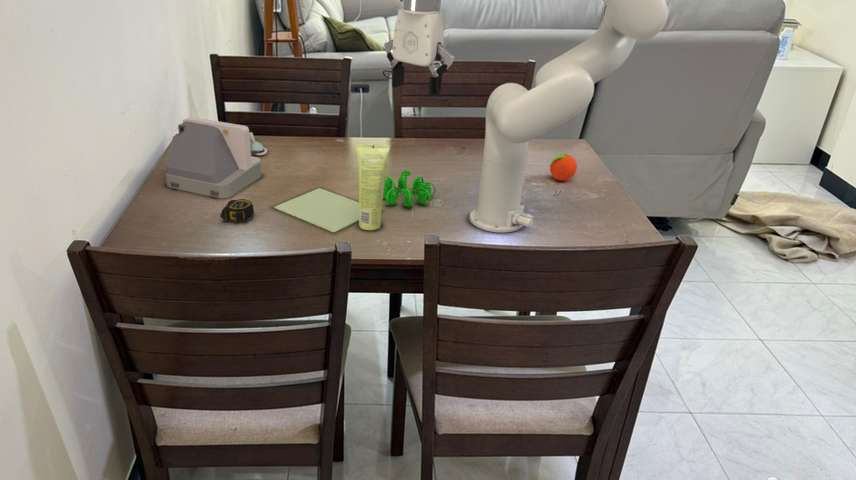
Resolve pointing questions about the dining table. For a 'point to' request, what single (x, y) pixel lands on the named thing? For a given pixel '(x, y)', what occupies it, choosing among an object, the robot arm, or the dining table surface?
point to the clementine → (563, 167)
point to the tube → (371, 183)
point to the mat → (323, 209)
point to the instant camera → (211, 158)
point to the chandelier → (407, 190)
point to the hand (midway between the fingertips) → (415, 90)
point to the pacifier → (256, 146)
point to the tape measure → (238, 210)
